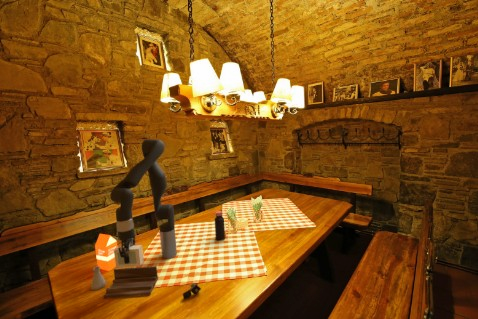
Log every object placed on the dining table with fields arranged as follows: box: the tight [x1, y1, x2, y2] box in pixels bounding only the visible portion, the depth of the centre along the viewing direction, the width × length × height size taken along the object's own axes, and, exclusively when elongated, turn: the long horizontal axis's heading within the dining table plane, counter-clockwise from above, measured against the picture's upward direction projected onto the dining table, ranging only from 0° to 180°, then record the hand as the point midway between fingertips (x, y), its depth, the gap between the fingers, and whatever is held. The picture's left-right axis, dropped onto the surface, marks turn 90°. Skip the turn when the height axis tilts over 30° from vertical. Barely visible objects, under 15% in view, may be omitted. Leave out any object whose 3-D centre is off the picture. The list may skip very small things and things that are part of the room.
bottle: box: [214, 210, 226, 241], centre depth 164 cm, size 7×7×20 cm
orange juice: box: [94, 233, 118, 272], centre depth 136 cm, size 8×9×20 cm
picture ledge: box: [103, 265, 159, 299], centre depth 116 cm, size 12×22×8 cm, turn 92°
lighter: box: [182, 282, 202, 300], centre depth 108 cm, size 8×2×5 cm
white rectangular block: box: [114, 244, 144, 269], centre depth 114 cm, size 12×4×9 cm, turn 93°
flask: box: [90, 265, 107, 291], centre depth 119 cm, size 7×7×10 cm
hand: (129, 260), depth 114 cm, fingers closed on white rectangular block, 4 cm apart
